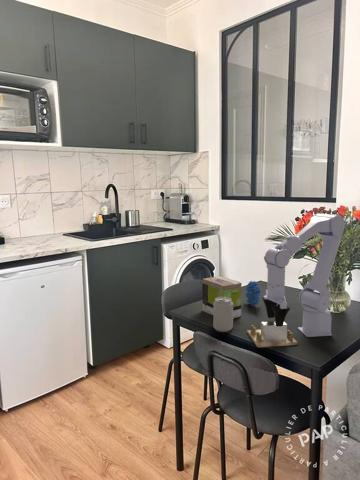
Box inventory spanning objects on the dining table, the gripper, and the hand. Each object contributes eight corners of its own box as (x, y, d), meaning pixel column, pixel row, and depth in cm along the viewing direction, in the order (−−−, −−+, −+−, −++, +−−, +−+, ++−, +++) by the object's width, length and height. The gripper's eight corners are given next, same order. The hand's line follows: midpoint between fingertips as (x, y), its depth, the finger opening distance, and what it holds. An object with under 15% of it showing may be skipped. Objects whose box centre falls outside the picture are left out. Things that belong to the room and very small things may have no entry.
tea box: (242, 316, 149) (242, 282, 146) (223, 321, 144) (223, 286, 141) (219, 306, 161) (219, 274, 159) (201, 310, 156) (201, 278, 154)
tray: (283, 330, 134) (283, 321, 133) (297, 344, 122) (297, 335, 122) (247, 332, 132) (247, 323, 132) (257, 347, 121) (257, 337, 120)
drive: (282, 336, 126) (283, 320, 125) (286, 341, 123) (287, 324, 122) (260, 338, 125) (261, 321, 124) (264, 342, 122) (264, 325, 121)
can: (209, 328, 136) (209, 298, 135) (221, 323, 142) (221, 294, 140) (224, 334, 131) (224, 303, 129) (236, 328, 136) (237, 298, 134)
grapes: (267, 309, 157) (268, 283, 155) (254, 311, 155) (254, 284, 153) (255, 301, 168) (255, 276, 166) (242, 302, 166) (242, 277, 164)
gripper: (257, 278, 128) (257, 314, 130) (272, 290, 113) (271, 330, 116) (276, 277, 128) (275, 313, 131) (293, 289, 114) (292, 329, 116)
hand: (275, 321), depth 123 cm, fingers open, 7 cm apart
